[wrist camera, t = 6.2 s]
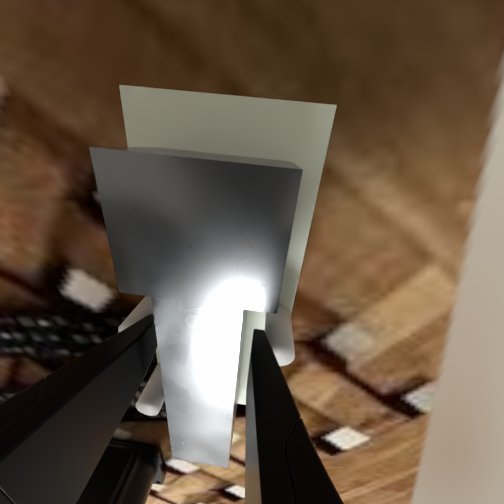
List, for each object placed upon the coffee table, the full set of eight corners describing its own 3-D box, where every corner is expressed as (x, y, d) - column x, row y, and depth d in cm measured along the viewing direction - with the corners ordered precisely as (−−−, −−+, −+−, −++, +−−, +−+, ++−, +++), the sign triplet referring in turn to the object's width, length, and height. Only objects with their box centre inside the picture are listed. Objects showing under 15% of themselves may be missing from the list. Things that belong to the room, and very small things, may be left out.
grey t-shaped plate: (253, 403, 14) (247, 471, 11) (178, 391, 14) (153, 455, 11) (292, 161, 8) (303, 169, 5) (157, 147, 8) (89, 146, 5)
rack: (270, 385, 15) (269, 454, 12) (171, 370, 15) (141, 433, 12) (326, 112, 8) (364, 85, 5) (144, 94, 8) (55, 58, 5)
